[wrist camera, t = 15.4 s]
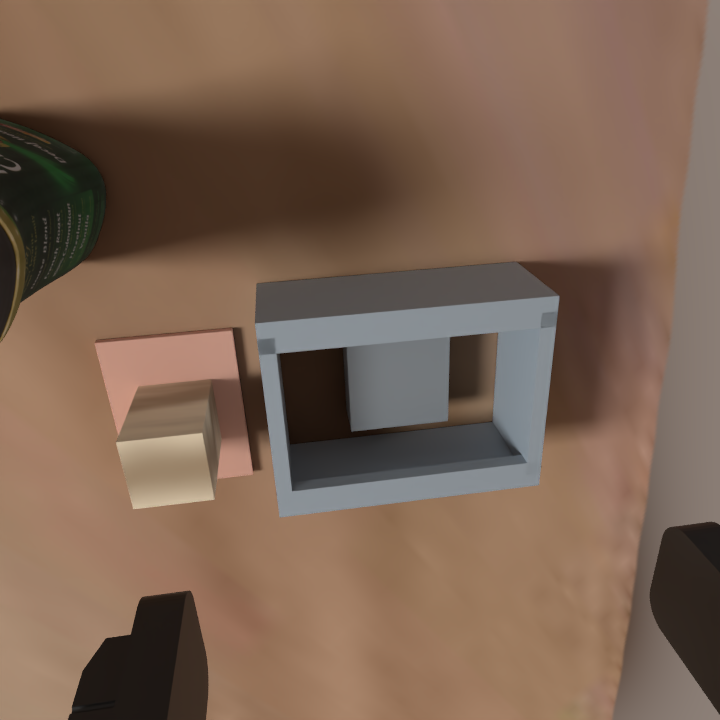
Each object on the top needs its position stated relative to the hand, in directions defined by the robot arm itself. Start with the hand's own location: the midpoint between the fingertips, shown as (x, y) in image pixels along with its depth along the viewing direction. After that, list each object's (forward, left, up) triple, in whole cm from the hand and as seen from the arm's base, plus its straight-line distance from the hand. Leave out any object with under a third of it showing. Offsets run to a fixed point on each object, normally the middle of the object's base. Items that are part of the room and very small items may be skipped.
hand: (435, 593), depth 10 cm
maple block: (+14, -10, -32) cm, 36 cm away
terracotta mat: (+14, -10, -32) cm, 37 cm away
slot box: (+12, +5, -32) cm, 35 cm away
